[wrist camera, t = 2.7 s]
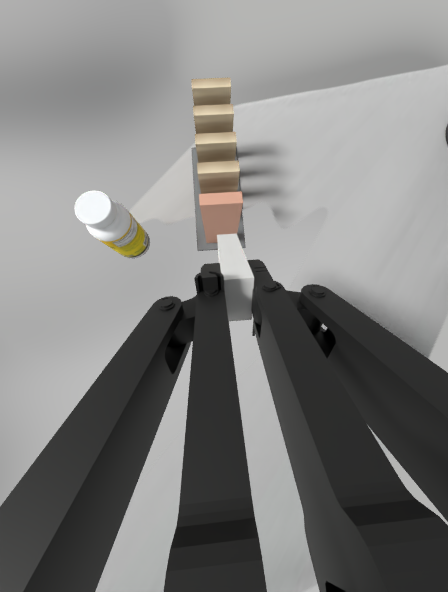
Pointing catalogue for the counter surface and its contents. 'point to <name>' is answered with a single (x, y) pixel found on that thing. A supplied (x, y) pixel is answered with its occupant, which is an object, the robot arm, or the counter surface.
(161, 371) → the robot arm
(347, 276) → the counter surface
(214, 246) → the mat
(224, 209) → the domino
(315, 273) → the counter surface
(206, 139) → the domino
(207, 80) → the domino
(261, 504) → the counter surface
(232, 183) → the domino
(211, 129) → the domino
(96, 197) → the pill bottle
